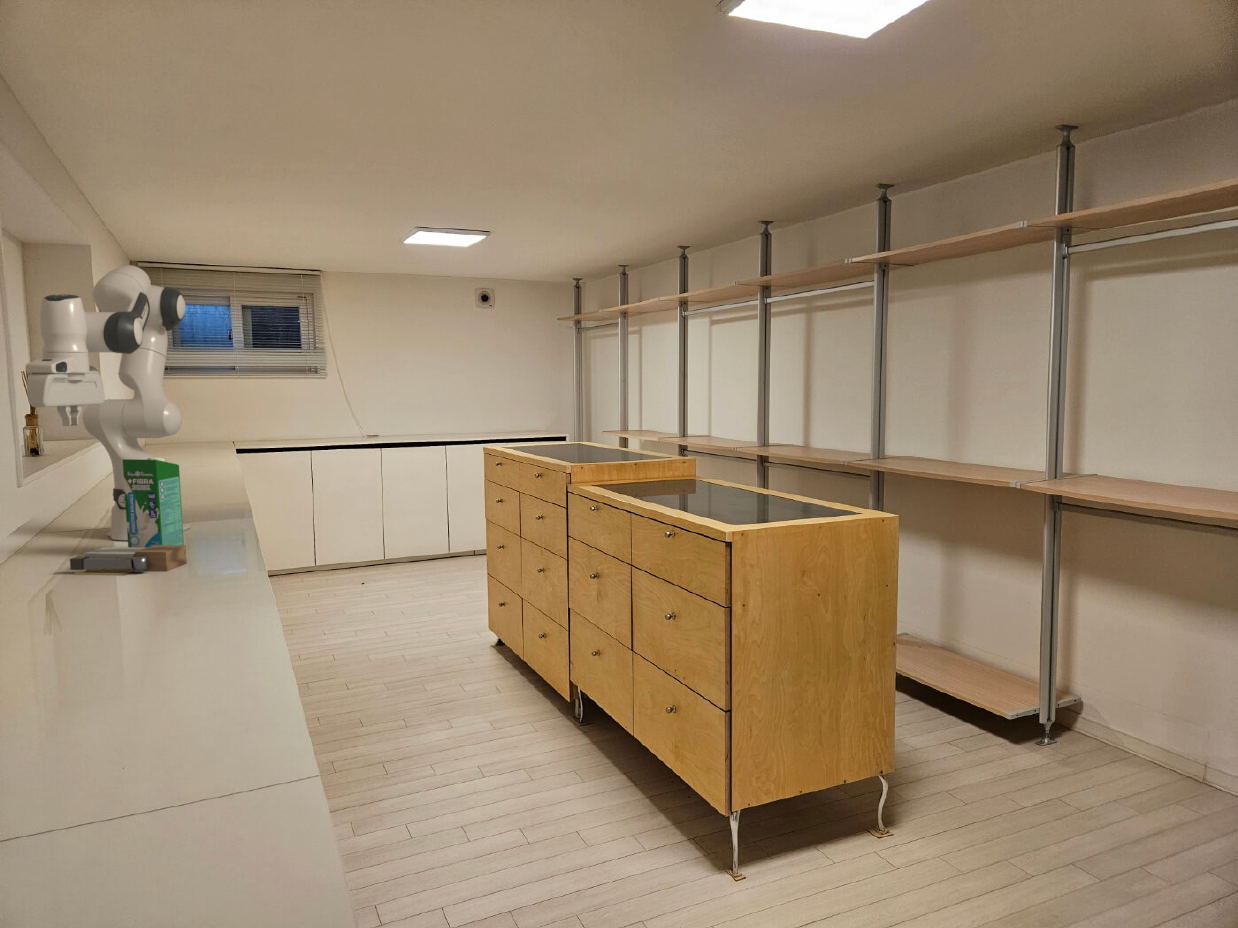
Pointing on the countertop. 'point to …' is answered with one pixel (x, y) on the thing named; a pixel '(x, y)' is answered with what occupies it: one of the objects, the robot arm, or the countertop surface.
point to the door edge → (157, 555)
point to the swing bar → (109, 563)
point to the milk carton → (152, 502)
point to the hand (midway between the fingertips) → (70, 425)
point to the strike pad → (105, 571)
